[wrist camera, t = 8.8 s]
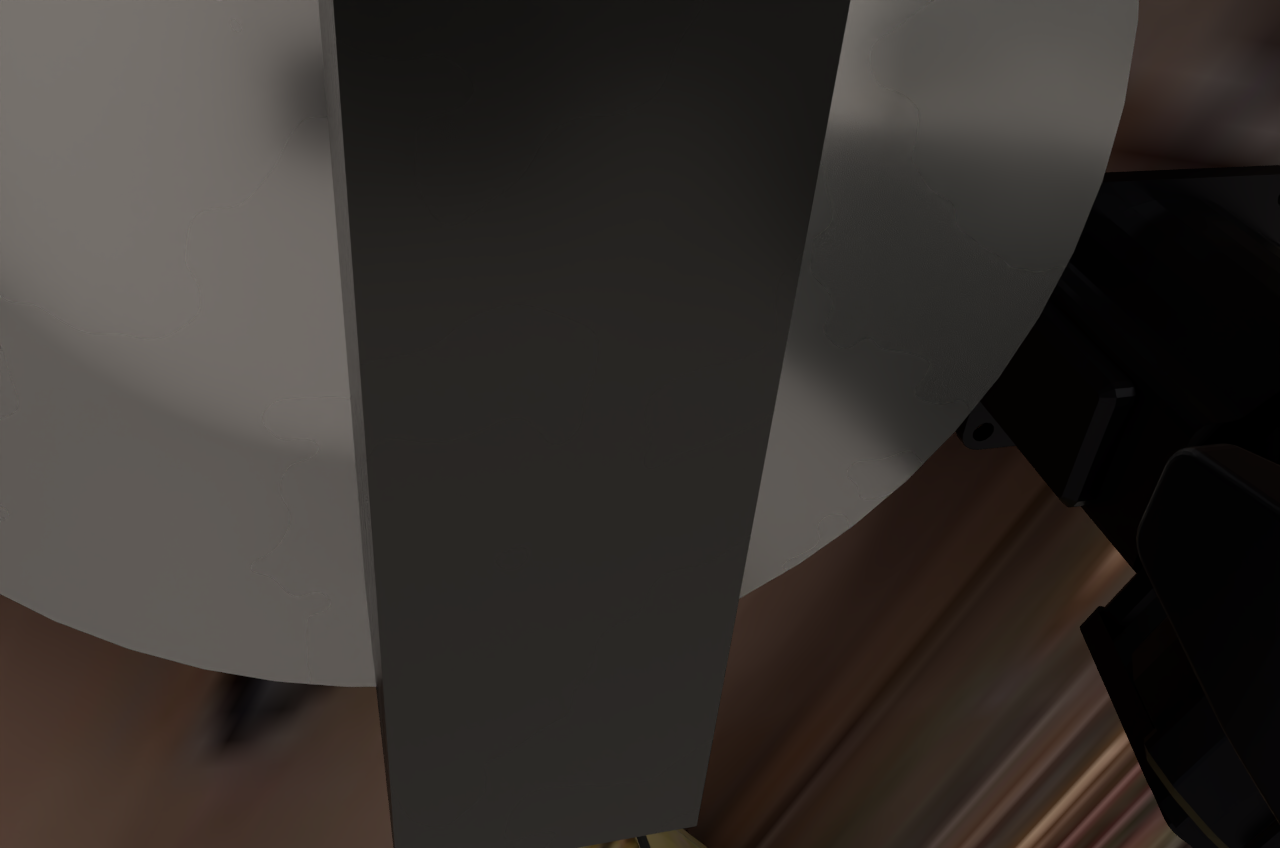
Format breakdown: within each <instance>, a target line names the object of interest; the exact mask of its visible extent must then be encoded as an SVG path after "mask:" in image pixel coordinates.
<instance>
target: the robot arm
mask: <svg viewBox="0 0 1280 848" xmlns="http://www.w3.org/2000/svg"><path fill="white" fill-rule="evenodd" d="M981 424H983V425H982V426H980V427H979V428H978V429H976V428H977V427H978V426H979V425H981ZM955 432H956V434H957V436H958V437H959V438H960V440H961V441H962V442H963V444H964V445H965V446H966V447H968V448H969V449H976V450H979V449H988V448H998V447H1007V446H1017V448H1018V449H1019V450H1020V451H1021V452H1022V454H1023V455H1024V456H1025V457H1026V459H1027V460H1028V461H1029V462H1030V464H1031V465H1032V466H1033V467H1034V468H1035V470H1036V471H1037V472H1038V473H1039V475H1040V476H1041V477H1042V478H1043V480H1044V481H1045V482H1046V483H1047V484H1048V486H1049V487H1050V488H1051V489H1052V491H1053V492H1054V493H1055V494H1056V496H1057V497H1058V498H1059V499H1060V500H1061V501H1062V502H1063V503H1064V504H1065V505H1066V506H1067V507H1075V506H1081V507H1082V508H1083V510H1084V511H1085V512H1086V513H1087V514H1088V516H1089V517H1090V518H1091V519H1092V520H1093V522H1094V523H1095V524H1096V525H1097V526H1098V528H1099V529H1100V530H1101V531H1102V532H1103V534H1104V535H1105V536H1106V537H1107V538H1108V540H1109V541H1110V542H1111V543H1112V545H1113V546H1114V547H1115V548H1116V549H1117V551H1118V552H1119V553H1120V554H1121V555H1122V557H1123V558H1124V559H1125V560H1126V561H1127V563H1128V564H1129V565H1130V566H1131V567H1132V569H1133V570H1134V571H1135V572H1136V574H1135V575H1134V576H1133V577H1132V578H1131V579H1130V581H1129V582H1128V583H1127V584H1126V585H1125V586H1124V587H1123V588H1122V589H1121V590H1120V591H1119V592H1118V593H1117V594H1116V596H1115V597H1114V598H1113V599H1112V600H1111V601H1110V602H1109V603H1108V604H1107V605H1106V606H1105V607H1102V606H1099V607H1098V608H1097V609H1096V610H1095V611H1094V612H1093V613H1092V614H1091V615H1090V616H1089V617H1088V618H1087V619H1086V621H1085V622H1084V623H1083V624H1082V625H1081V626H1080V630H1081V632H1082V634H1083V637H1084V639H1085V641H1086V644H1087V646H1088V648H1089V650H1090V653H1091V655H1092V657H1093V660H1094V662H1095V664H1096V666H1097V669H1098V671H1099V673H1100V676H1101V678H1102V680H1103V682H1104V685H1105V687H1106V689H1107V692H1108V694H1109V696H1110V698H1111V701H1112V703H1113V705H1114V708H1115V710H1116V712H1117V714H1118V717H1119V719H1120V721H1121V723H1122V726H1123V728H1124V730H1125V733H1126V735H1127V737H1128V739H1129V742H1130V744H1131V746H1132V749H1133V751H1134V753H1135V755H1136V758H1137V760H1138V762H1139V765H1140V767H1141V769H1142V771H1143V774H1144V776H1145V778H1146V781H1147V783H1148V785H1149V787H1150V788H1151V790H1152V792H1153V795H1154V797H1155V799H1156V801H1157V803H1158V806H1159V808H1160V810H1161V812H1162V815H1163V817H1164V819H1165V821H1166V823H1167V824H1168V826H1169V827H1170V828H1171V829H1172V831H1173V832H1174V833H1175V834H1176V835H1178V836H1179V837H1180V838H1181V839H1182V840H1184V841H1185V842H1186V843H1188V844H1189V845H1191V847H1192V848H1280V165H1274V166H1250V167H1227V168H1203V169H1180V170H1156V171H1133V172H1109V173H1105V174H1104V178H1103V181H1102V183H1101V186H1100V188H1099V191H1098V193H1097V196H1096V198H1095V201H1094V203H1093V206H1092V208H1091V211H1090V213H1089V216H1088V218H1087V221H1086V223H1085V226H1084V228H1083V230H1082V233H1081V235H1080V238H1079V240H1078V243H1077V245H1076V248H1075V250H1074V253H1073V254H1072V256H1071V258H1070V260H1069V262H1068V264H1067V266H1066V268H1065V269H1064V271H1063V273H1062V275H1061V277H1060V279H1059V281H1058V283H1057V285H1056V286H1055V288H1054V290H1053V292H1052V294H1051V296H1050V298H1049V300H1048V302H1047V303H1046V305H1045V307H1044V309H1043V311H1042V313H1041V315H1040V317H1039V318H1038V320H1037V321H1036V323H1035V324H1034V326H1033V327H1032V329H1031V330H1030V332H1029V333H1028V335H1027V336H1026V338H1025V339H1024V341H1023V342H1022V344H1021V345H1020V347H1019V348H1018V350H1017V351H1016V353H1015V354H1014V356H1013V357H1012V359H1011V360H1010V362H1009V363H1008V365H1007V366H1006V368H1005V369H1004V371H1003V372H1002V374H1001V375H1000V377H999V378H998V379H997V381H996V382H995V383H994V384H993V385H992V387H991V388H990V389H989V390H988V392H987V393H986V394H985V395H984V397H983V398H982V399H981V400H980V401H979V403H978V404H977V405H976V406H975V408H974V409H973V410H972V411H971V412H970V414H969V415H968V416H967V417H966V419H965V420H964V421H963V422H962V424H961V425H960V426H959V427H958V428H957V430H956V431H955Z"/></svg>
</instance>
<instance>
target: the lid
mask: <svg viewBox="0 0 1280 848" xmlns="http://www.w3.org/2000/svg"><path fill="white" fill-rule="evenodd" d="M1138 7H1139V0H0V594H1V595H3V596H5V597H7V598H9V599H11V600H13V601H15V602H17V603H19V604H21V605H23V606H25V607H27V608H29V609H31V610H33V611H35V612H37V613H39V614H41V615H43V616H45V617H47V618H49V619H51V620H53V621H56V622H58V623H61V624H64V625H66V626H69V627H72V628H74V629H77V630H79V631H82V632H85V633H87V634H90V635H93V636H95V637H98V638H101V639H103V640H106V641H109V642H111V643H114V644H117V645H119V646H122V647H125V648H127V649H130V650H134V651H138V652H142V653H145V654H149V655H153V656H156V657H160V658H164V659H168V660H171V661H175V662H179V663H182V664H186V665H190V666H194V667H197V668H201V669H206V670H212V671H218V672H224V673H229V674H235V675H241V676H247V677H253V678H259V679H265V680H271V681H277V682H290V683H303V684H316V685H329V686H342V687H376V690H377V699H378V709H379V718H380V727H381V736H382V746H383V755H384V764H385V773H386V783H387V792H388V801H389V810H390V820H391V829H392V838H393V847H394V848H580V847H585V846H591V845H596V844H602V843H607V842H612V841H618V840H623V839H629V838H634V837H640V836H645V835H651V834H656V833H661V832H667V831H672V830H678V829H683V828H689V827H694V826H697V822H698V816H699V811H700V806H701V800H702V795H703V789H704V784H705V779H706V773H707V768H708V763H709V757H710V752H711V747H712V741H713V736H714V730H715V725H716V720H717V714H718V709H719V704H720V698H721V693H722V687H723V682H724V677H725V671H726V666H727V661H728V655H729V650H730V645H731V639H732V634H733V628H734V623H735V618H736V612H737V607H738V602H739V598H741V597H743V596H745V595H746V594H748V593H750V592H752V591H753V590H755V589H757V588H758V587H760V586H762V585H764V584H765V583H767V582H769V581H771V580H772V579H774V578H776V577H777V576H779V575H781V574H783V573H784V572H786V571H788V570H789V569H791V568H793V567H795V566H796V565H798V564H800V563H801V562H803V561H804V560H805V559H807V558H808V557H810V556H811V555H812V554H814V553H815V552H817V551H818V550H820V549H821V548H822V547H824V546H825V545H827V544H828V543H830V542H831V541H832V540H834V539H835V538H837V537H838V536H839V535H841V534H842V533H844V532H845V531H847V530H848V529H849V528H851V527H852V526H854V525H855V524H856V523H857V522H859V521H860V520H861V519H862V518H863V517H864V516H866V515H867V514H868V513H869V512H870V511H872V510H873V509H874V508H875V507H876V506H877V505H879V504H880V503H881V502H882V501H883V500H884V499H886V498H887V497H888V496H889V495H890V494H892V493H893V492H894V491H895V490H896V489H897V488H899V487H900V486H901V485H902V484H903V483H905V482H906V481H907V480H908V479H909V478H910V477H911V476H912V475H913V474H914V473H915V472H916V471H917V470H918V469H919V468H920V467H921V466H922V465H923V464H924V463H925V462H926V461H927V459H928V458H929V457H930V456H931V455H932V454H933V453H934V452H935V451H936V450H937V449H938V448H939V447H940V446H941V445H942V444H943V443H944V442H945V441H946V440H947V439H948V438H949V437H950V436H951V435H952V434H953V433H954V432H955V431H956V430H957V428H958V427H959V426H960V425H961V424H962V422H963V421H964V420H965V419H966V417H967V416H968V415H969V414H970V412H971V411H972V410H973V409H974V408H975V406H976V405H977V404H978V403H979V401H980V400H981V399H982V398H983V397H984V395H985V394H986V393H987V392H988V390H989V389H990V388H991V387H992V385H993V384H994V383H995V382H996V381H997V379H998V378H999V377H1000V375H1001V374H1002V372H1003V371H1004V369H1005V368H1006V366H1007V365H1008V363H1009V362H1010V360H1011V359H1012V357H1013V356H1014V354H1015V353H1016V351H1017V350H1018V348H1019V347H1020V345H1021V344H1022V342H1023V341H1024V339H1025V338H1026V336H1027V335H1028V333H1029V332H1030V330H1031V329H1032V327H1033V326H1034V324H1035V323H1036V321H1037V320H1038V318H1039V317H1040V315H1041V313H1042V311H1043V309H1044V307H1045V305H1046V303H1047V302H1048V300H1049V298H1050V296H1051V294H1052V292H1053V290H1054V288H1055V286H1056V285H1057V283H1058V281H1059V279H1060V277H1061V275H1062V273H1063V271H1064V269H1065V268H1066V266H1067V264H1068V262H1069V260H1070V258H1071V256H1072V254H1073V253H1074V250H1075V248H1076V245H1077V243H1078V240H1079V238H1080V235H1081V233H1082V230H1083V228H1084V226H1085V223H1086V221H1087V218H1088V216H1089V213H1090V211H1091V208H1092V206H1093V203H1094V201H1095V198H1096V196H1097V193H1098V191H1099V188H1100V186H1101V183H1102V181H1103V178H1104V174H1105V171H1106V167H1107V163H1108V160H1109V156H1110V153H1111V149H1112V146H1113V142H1114V139H1115V135H1116V132H1117V128H1118V125H1119V121H1120V118H1121V114H1122V110H1123V107H1124V103H1125V97H1126V91H1127V85H1128V79H1129V73H1130V66H1131V60H1132V54H1133V48H1134V42H1135V36H1136V30H1137V24H1138Z"/></svg>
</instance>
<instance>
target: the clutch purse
mask: <svg viewBox="0 0 1280 848" xmlns="http://www.w3.org/2000/svg"><path fill="white" fill-rule="evenodd" d="M580 848H707V847H706V846H705V845H703V844H702V843H701V842H699V841H698V840H697V839H695V838H694V837H693V836H692V835H690V834H689V833H688V832H686V831H685V830H684V829H678V830H672V831H667V832H661V833H656V834H651V835H645V836H640V837H634V838H629V839H623V840H618V841H612V842H607V843H602V844H596V845H591V846H585V847H580Z"/></svg>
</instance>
